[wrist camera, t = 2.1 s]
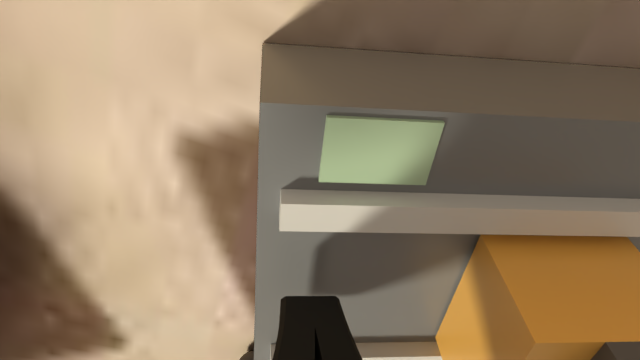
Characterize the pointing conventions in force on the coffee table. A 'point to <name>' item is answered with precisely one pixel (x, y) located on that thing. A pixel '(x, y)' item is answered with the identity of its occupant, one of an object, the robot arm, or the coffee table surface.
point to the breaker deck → (427, 178)
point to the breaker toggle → (545, 300)
